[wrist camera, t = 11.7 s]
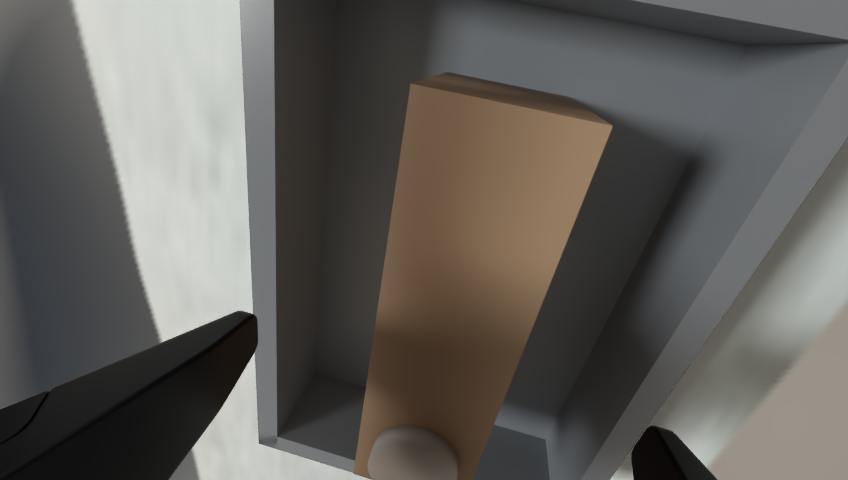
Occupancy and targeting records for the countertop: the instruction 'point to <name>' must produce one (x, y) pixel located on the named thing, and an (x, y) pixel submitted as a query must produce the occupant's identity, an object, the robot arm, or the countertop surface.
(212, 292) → the countertop surface
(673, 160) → the bin
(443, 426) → the strut
